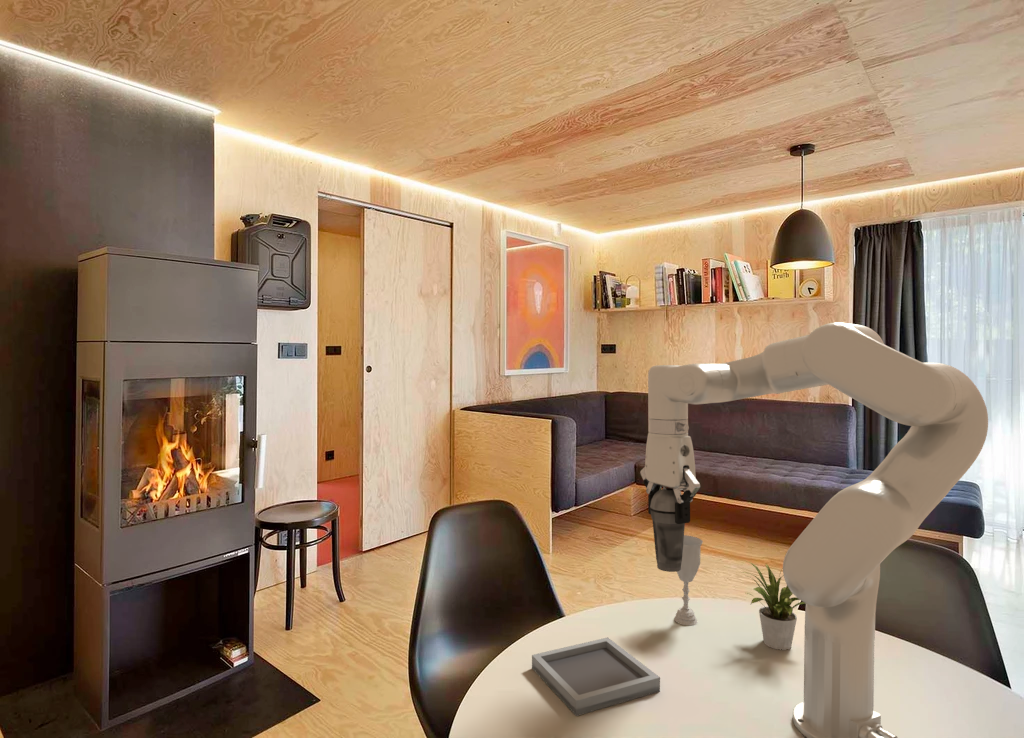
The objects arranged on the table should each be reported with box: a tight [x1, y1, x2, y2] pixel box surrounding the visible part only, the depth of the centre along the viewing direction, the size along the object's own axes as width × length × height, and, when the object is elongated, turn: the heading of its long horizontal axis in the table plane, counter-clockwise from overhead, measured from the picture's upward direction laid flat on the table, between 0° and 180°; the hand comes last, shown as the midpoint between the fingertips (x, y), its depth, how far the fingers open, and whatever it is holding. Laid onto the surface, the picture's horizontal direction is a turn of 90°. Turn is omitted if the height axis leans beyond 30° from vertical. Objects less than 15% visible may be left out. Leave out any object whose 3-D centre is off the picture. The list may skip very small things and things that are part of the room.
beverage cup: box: [650, 486, 686, 573], centre depth 113 cm, size 7×7×20 cm
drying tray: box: [531, 637, 661, 717], centre depth 105 cm, size 16×17×2 cm
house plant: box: [741, 560, 805, 651], centre depth 119 cm, size 14×14×16 cm
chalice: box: [673, 534, 704, 626], centre depth 129 cm, size 7×7×18 cm
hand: (668, 517), depth 113 cm, fingers closed on beverage cup, 7 cm apart
